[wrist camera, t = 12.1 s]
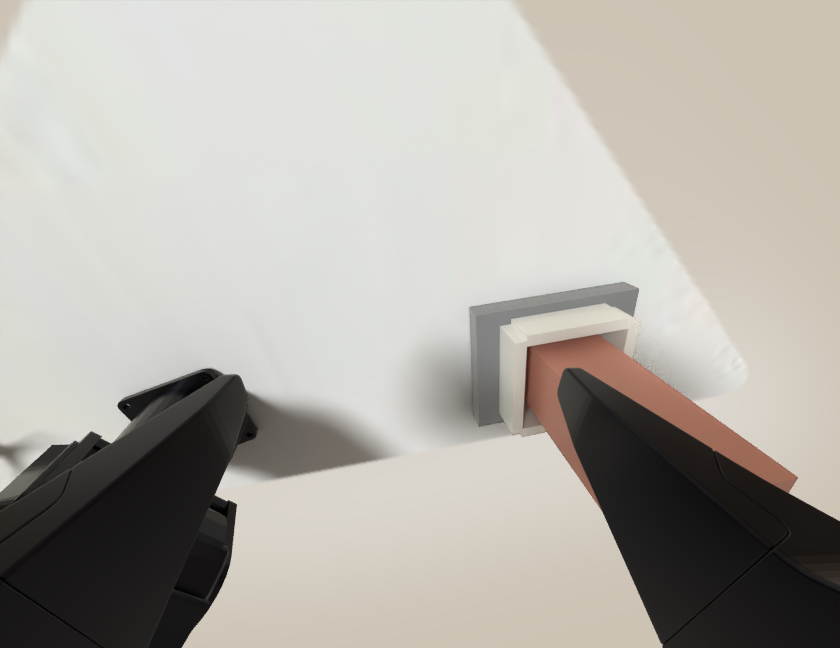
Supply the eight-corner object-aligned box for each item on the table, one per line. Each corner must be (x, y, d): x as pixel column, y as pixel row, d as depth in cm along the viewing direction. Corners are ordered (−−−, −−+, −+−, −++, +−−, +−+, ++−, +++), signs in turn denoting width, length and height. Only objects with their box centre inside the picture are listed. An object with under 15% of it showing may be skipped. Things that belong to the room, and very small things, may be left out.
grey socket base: (473, 414, 28) (489, 450, 24) (469, 307, 23) (488, 332, 20) (603, 388, 29) (637, 419, 26) (624, 281, 25) (668, 301, 21)
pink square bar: (520, 393, 26) (668, 606, 13) (523, 337, 24) (705, 532, 11) (579, 382, 26) (775, 578, 14) (588, 327, 24) (831, 501, 12)
